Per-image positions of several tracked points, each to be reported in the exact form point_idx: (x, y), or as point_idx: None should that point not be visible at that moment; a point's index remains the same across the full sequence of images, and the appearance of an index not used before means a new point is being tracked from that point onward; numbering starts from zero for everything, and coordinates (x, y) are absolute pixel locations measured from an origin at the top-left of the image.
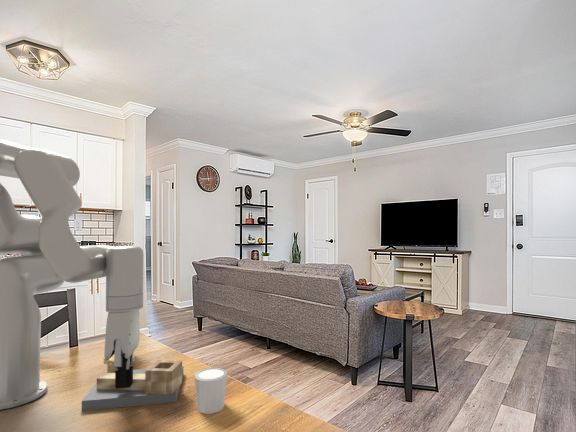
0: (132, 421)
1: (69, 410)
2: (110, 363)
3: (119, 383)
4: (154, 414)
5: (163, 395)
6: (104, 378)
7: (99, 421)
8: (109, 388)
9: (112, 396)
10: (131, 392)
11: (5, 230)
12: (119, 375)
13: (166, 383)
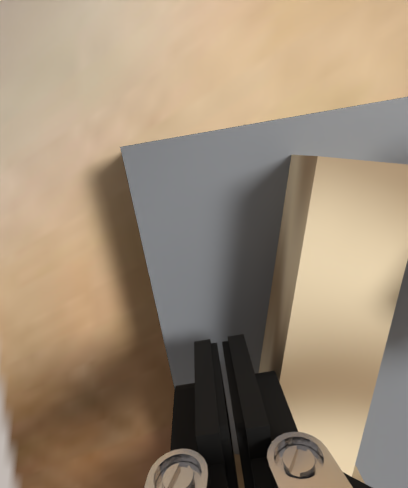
0: (51, 425)
1: (134, 68)
2: None
3: (176, 395)
4: (111, 481)
5: None
6: (305, 226)
7: (37, 293)
8: (280, 246)
9: (179, 307)
10: (228, 384)
11: None
12: (174, 441)
13: None
